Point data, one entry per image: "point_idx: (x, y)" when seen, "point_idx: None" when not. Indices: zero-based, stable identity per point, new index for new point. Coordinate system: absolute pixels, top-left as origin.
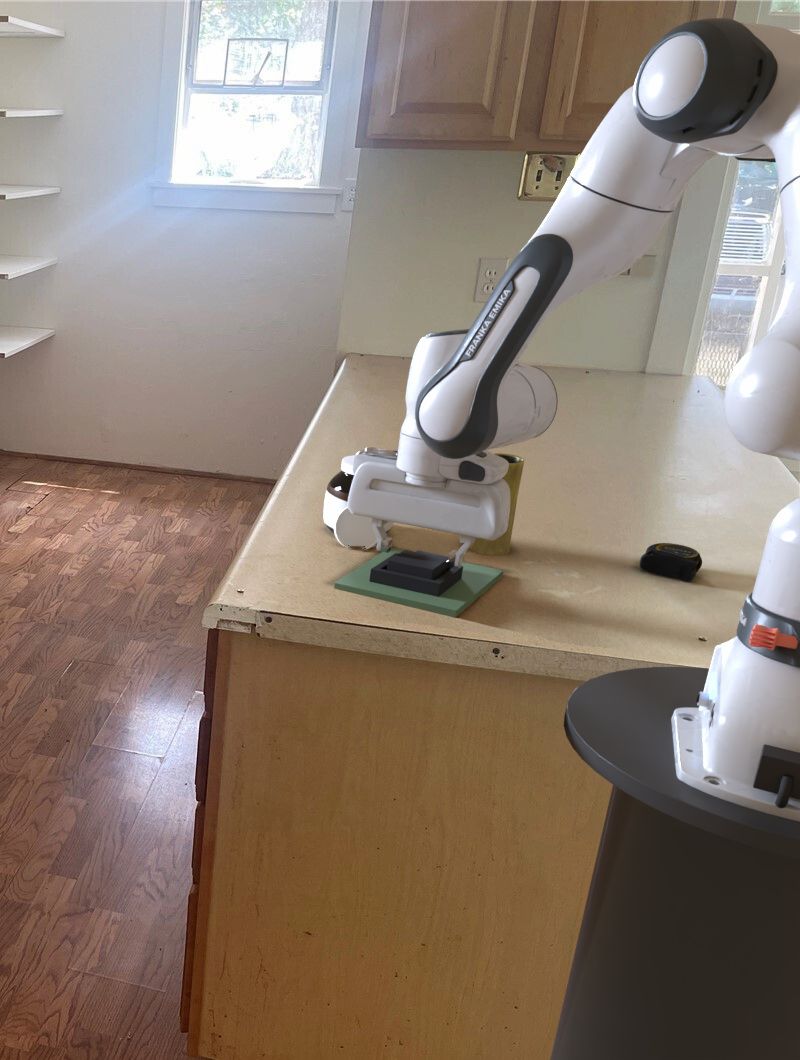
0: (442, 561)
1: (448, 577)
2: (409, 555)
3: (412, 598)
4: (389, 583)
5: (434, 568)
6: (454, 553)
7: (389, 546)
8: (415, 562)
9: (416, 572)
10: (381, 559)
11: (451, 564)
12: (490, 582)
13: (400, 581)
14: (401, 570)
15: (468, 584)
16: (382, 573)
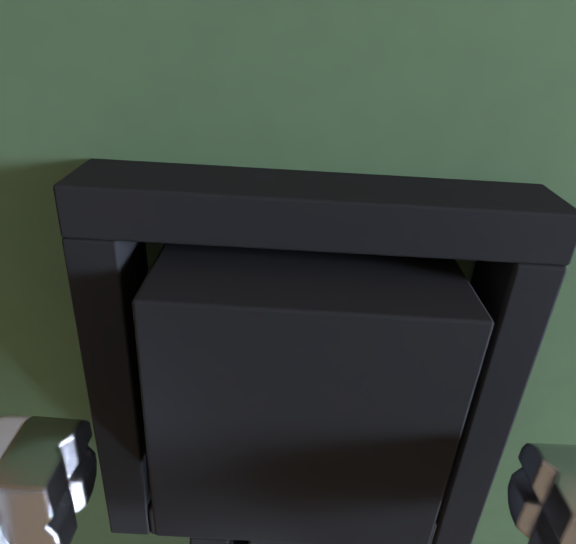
0: (159, 478)
1: (80, 341)
2: (375, 479)
3: (205, 12)
4: (412, 179)
5: (136, 329)
6: (7, 504)
7: (533, 504)
8: (298, 377)
9: (262, 283)
10: None
11: (49, 420)
12: None
13: (344, 185)
14: (371, 285)
15: None
16: (488, 205)
